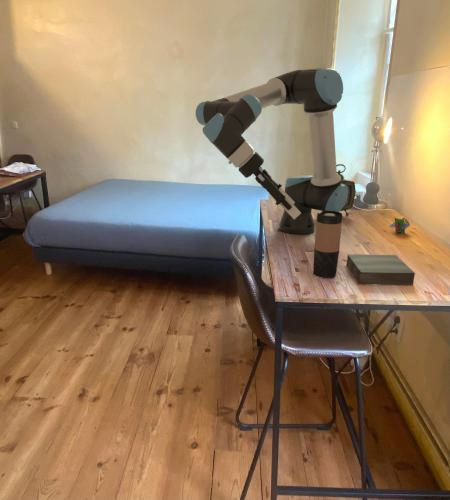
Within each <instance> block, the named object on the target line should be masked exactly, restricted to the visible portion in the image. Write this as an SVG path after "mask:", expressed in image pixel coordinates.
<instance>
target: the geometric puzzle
mask: <svg viewBox="0 0 450 500" xmlns="http://www.w3.org/2000/svg"><path fill="white" fill-rule="evenodd" d="M393 220H394V222H392V223H391V225H389V227H390V228H391V229H392V230H394V232H395V235H397V234H398V233H399V234H405V233H406V231H407V229H408V228H409V226H411V224H410V222H409V220H408V219H407V218H405V217H402V218H397V217H394V219H393Z"/></svg>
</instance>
